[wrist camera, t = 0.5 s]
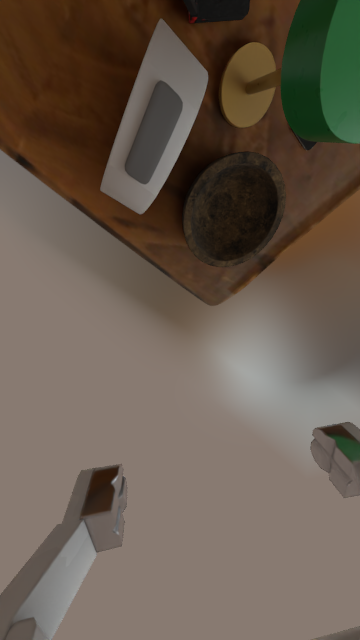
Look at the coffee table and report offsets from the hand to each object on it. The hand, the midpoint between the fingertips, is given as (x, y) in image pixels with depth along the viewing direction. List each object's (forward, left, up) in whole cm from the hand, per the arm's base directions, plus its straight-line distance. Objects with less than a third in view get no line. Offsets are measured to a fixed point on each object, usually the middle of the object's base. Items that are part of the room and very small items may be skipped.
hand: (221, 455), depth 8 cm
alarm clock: (-7, +6, -51) cm, 52 cm away
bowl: (+13, +12, -51) cm, 54 cm away
